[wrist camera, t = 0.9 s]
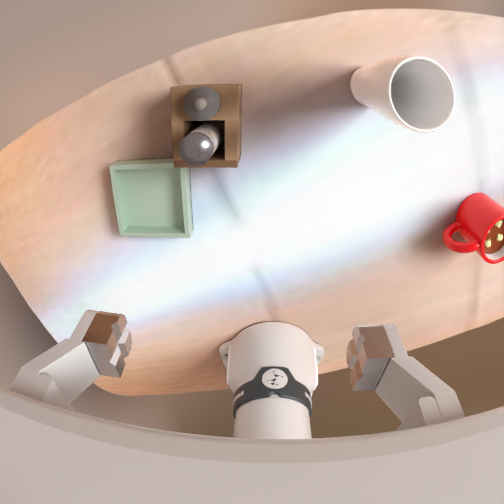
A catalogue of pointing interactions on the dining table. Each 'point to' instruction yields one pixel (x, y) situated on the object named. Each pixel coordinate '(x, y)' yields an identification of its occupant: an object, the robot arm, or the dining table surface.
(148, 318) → the dining table surface
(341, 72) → the dining table surface
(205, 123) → the pin
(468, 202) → the mug
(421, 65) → the white tall cup
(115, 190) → the tray
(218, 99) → the tensioner block
